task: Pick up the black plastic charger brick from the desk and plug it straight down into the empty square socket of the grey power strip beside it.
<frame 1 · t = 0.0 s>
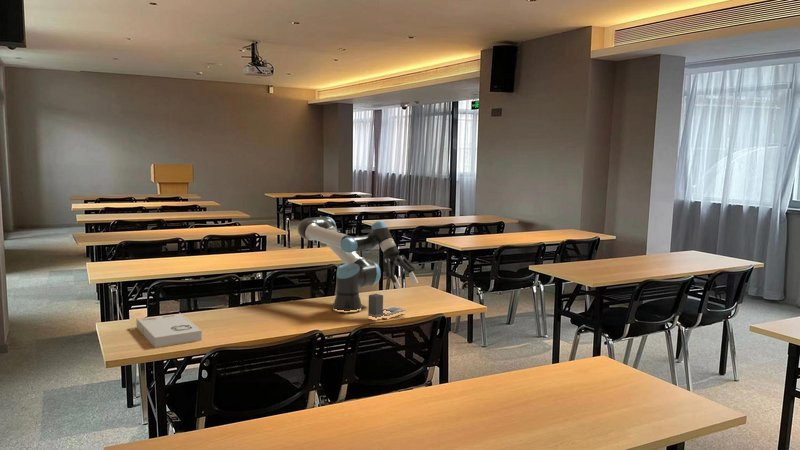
hand: (407, 286, 291), 15 cm above the table, tool tilted 35°, fingers open, 13 cm apart
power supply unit: (168, 335, 254), on the table
charger: (375, 319, 285), on the table
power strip: (389, 315, 293), on the table
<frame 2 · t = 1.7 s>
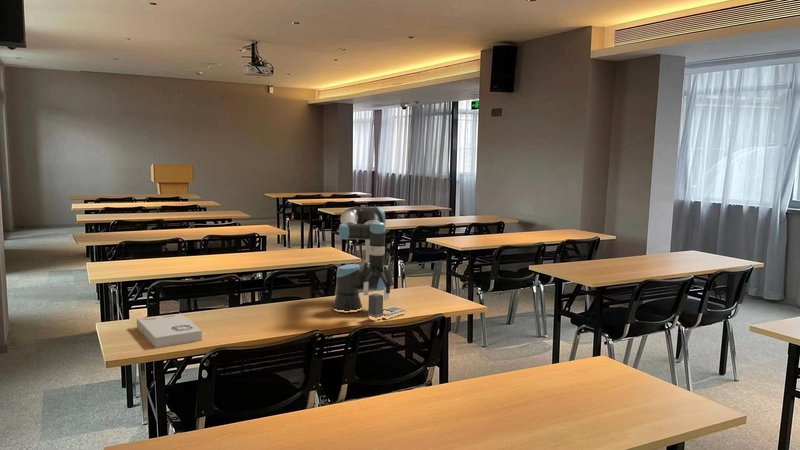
hand: (375, 297, 283), 11 cm above the table, tool pointing down, fingers open, 13 cm apart
nothing on the table moved.
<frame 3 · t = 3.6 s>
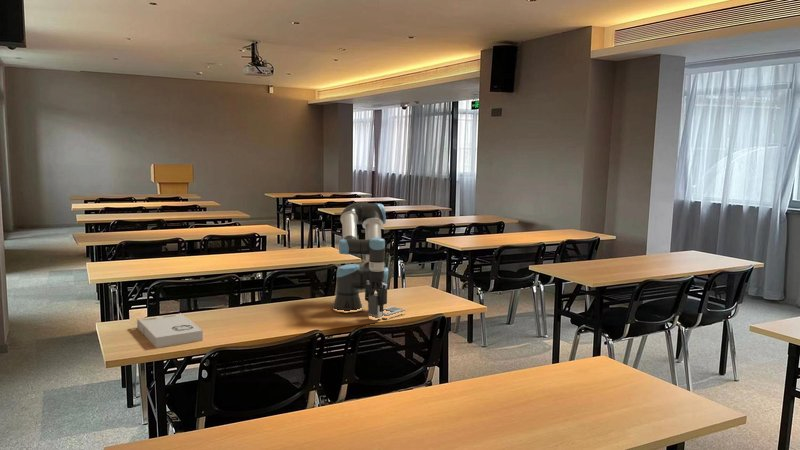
hand: (375, 316, 285), 1 cm above the table, tool pointing down, fingers closed on charger, 5 cm apart
charger: (375, 319, 285), on the table, touching gripper
everything else where it was.
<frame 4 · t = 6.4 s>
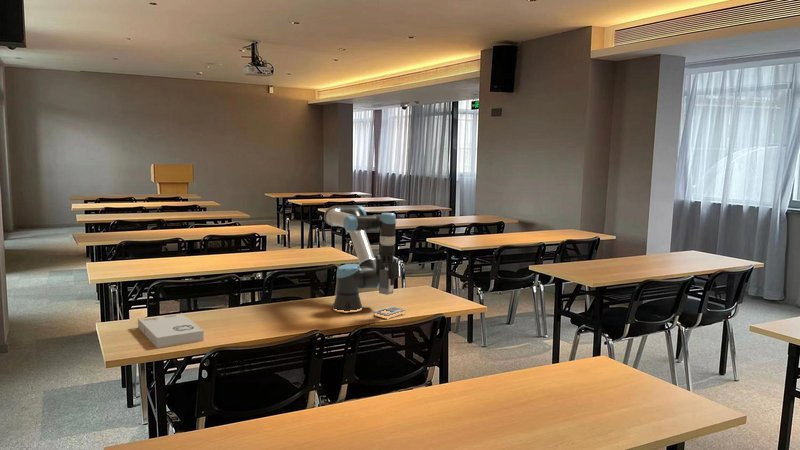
hand: (386, 290, 289), 13 cm above the table, tool pointing down, fingers closed on charger, 5 cm apart
charger: (386, 293, 289), point 12 cm above the table, touching gripper
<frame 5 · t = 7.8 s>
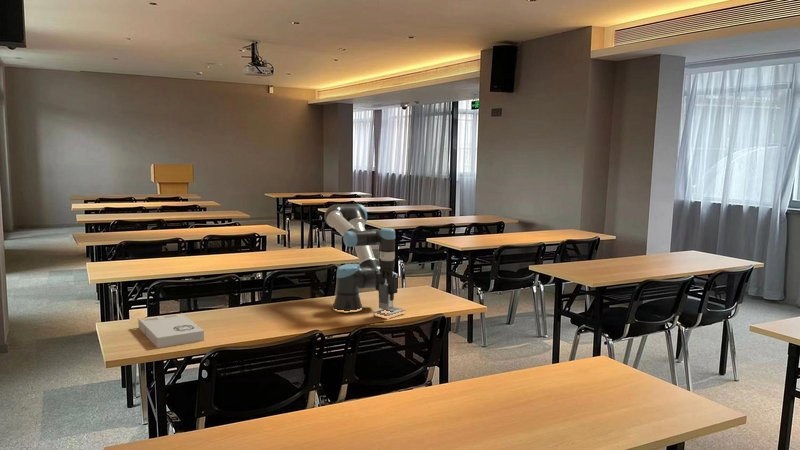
hand: (385, 305, 290), 6 cm above the table, tool pointing down, fingers closed on charger, 5 cm apart
charger: (385, 308, 290), point 4 cm above the table, touching gripper
when the fingers open (3 cm above the table, at t = 9.1 s): charger drops 1 cm, resting on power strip.
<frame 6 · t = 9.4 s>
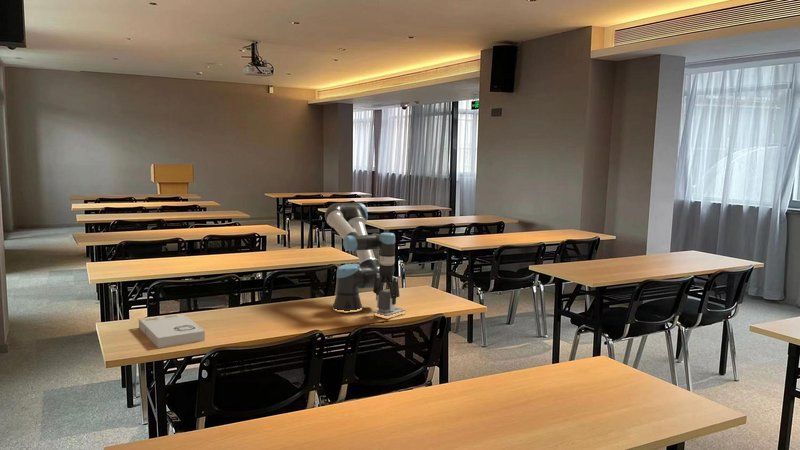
hand: (385, 308, 290), 4 cm above the table, tool pointing down, fingers open, 8 cm apart
charger: (385, 314, 291), point 1 cm above the table, touching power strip
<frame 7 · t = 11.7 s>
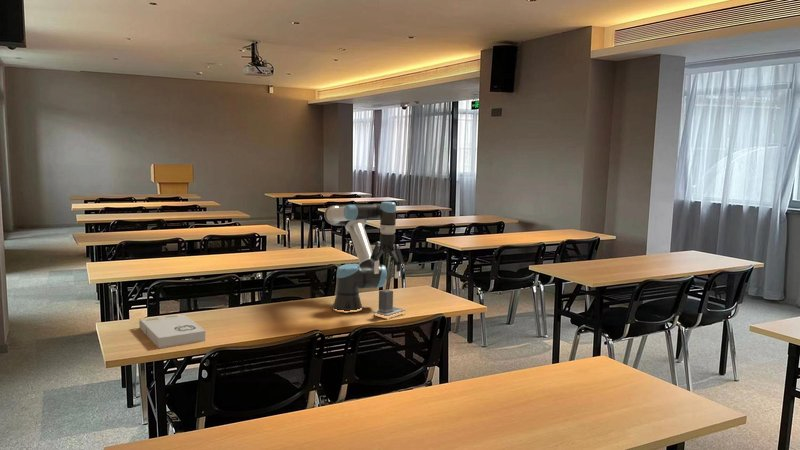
hand: (386, 275, 288), 21 cm above the table, tool pointing down, fingers open, 13 cm apart
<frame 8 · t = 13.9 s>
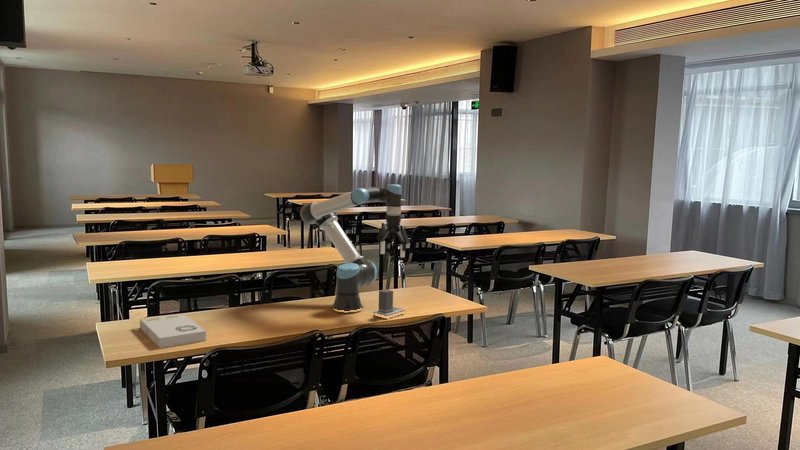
hand: (392, 255, 299), 29 cm above the table, tool pointing down, fingers open, 13 cm apart
at the end: charger 0.1 cm from the target spot on the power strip, point 0.9 cm above the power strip's base; charger tilted 0°; the gripper is holding nothing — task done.
